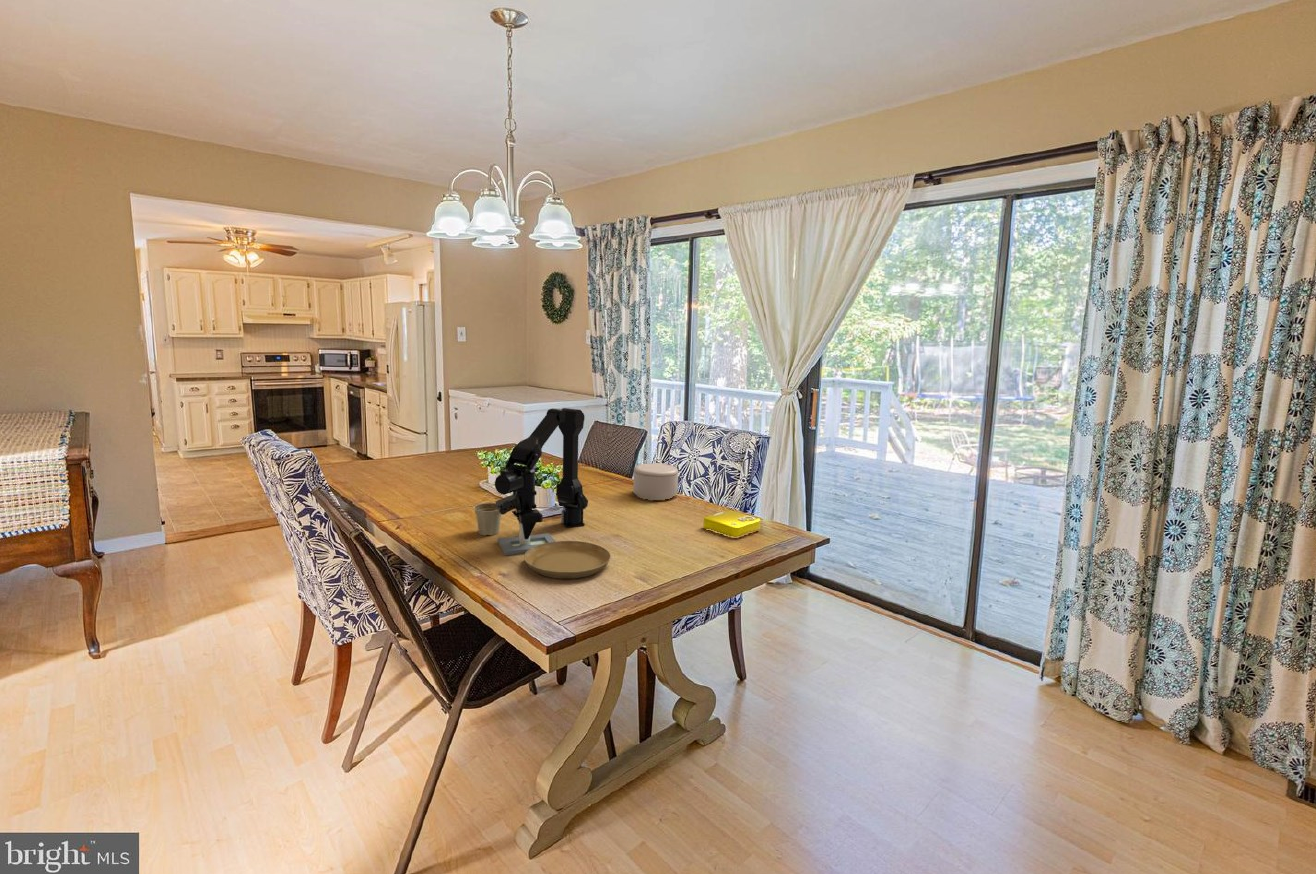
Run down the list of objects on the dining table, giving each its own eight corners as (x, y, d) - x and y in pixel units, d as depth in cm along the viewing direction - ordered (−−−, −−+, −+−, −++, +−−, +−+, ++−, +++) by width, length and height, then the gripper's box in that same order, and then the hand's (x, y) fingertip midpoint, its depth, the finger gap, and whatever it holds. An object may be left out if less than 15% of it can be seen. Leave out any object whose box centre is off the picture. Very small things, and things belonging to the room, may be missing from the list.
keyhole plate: (548, 536, 197) (548, 533, 197) (559, 549, 187) (559, 545, 186) (497, 542, 191) (497, 538, 191) (505, 555, 180) (505, 551, 180)
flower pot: (495, 538, 194) (495, 512, 192) (468, 535, 196) (467, 509, 194) (508, 529, 203) (508, 504, 201) (482, 526, 205) (482, 501, 203)
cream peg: (528, 542, 190) (528, 515, 189) (531, 546, 187) (531, 518, 186) (518, 543, 189) (518, 516, 187) (520, 547, 186) (520, 519, 185)
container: (637, 502, 240) (637, 472, 238) (629, 490, 257) (630, 462, 255) (682, 501, 244) (683, 472, 242) (671, 489, 261) (673, 462, 259)
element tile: (727, 520, 222) (728, 507, 221) (762, 531, 212) (763, 517, 211) (700, 529, 212) (700, 515, 211) (735, 540, 201) (735, 526, 201)
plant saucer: (620, 556, 184) (621, 545, 183) (594, 588, 161) (594, 576, 160) (544, 547, 189) (544, 536, 188) (509, 577, 166) (508, 565, 165)
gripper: (492, 481, 190) (492, 530, 193) (504, 497, 173) (504, 550, 176) (528, 479, 195) (528, 527, 197) (543, 494, 178) (542, 546, 181)
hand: (525, 537), depth 188 cm, fingers closed on cream peg, 3 cm apart
